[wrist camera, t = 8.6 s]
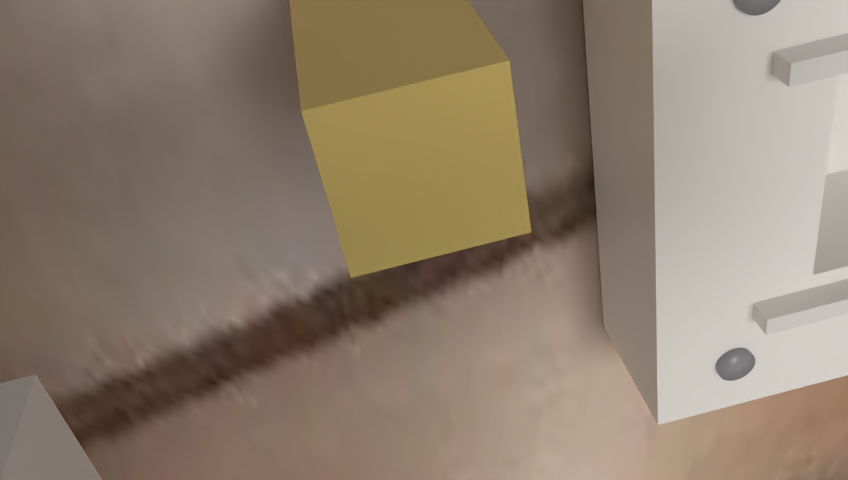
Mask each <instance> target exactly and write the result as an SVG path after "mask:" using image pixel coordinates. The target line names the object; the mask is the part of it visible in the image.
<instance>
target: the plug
mask: <svg viewBox="0 0 848 480" xmlns="http://www.w3.org/2000/svg"><path fill="white" fill-rule="evenodd" d="M289 5H290V14H291V23H292V32H293V42H294V51H295V60H296V69H297V78H298V87H299V96H300V105H301V112H302V116H303V119H304V122H305V126H306V129H307V133H308V136H309V139H310V143H311V146H312V149H313V153H314V156H315V159H316V163H317V166H318V169H319V173H320V176H321V179H322V183H323V186H324V189H325V193H326V196H327V200H328V203H329V206H330V210H331V213H332V216H333V220H334V223H335V226H336V230H337V233H338V236H339V240H340V243H341V246H342V250H343V253H344V256H345V260H346V263H347V266H348V270H349V273H350V277H351V278H352V277H356V276H360V275H364V274H368V273H372V272H376V271H380V270H384V269H388V268H392V267H396V266H400V265H404V264H408V263H412V262H416V261H420V260H423V259H427V258H431V257H435V256H439V255H443V254H447V253H451V252H455V251H459V250H463V249H467V248H471V247H475V246H479V245H483V244H487V243H491V242H495V241H499V240H503V239H507V238H511V237H515V236H519V235H523V234H527V233H530V232H531V225H530V218H529V210H528V202H527V194H526V186H525V178H524V170H523V162H522V155H521V147H520V139H519V131H518V123H517V115H516V107H515V99H514V92H513V84H512V76H511V68H510V60H509V59H508V57H507V56H506V55H505V53H504V52H503V50H502V49H501V47H500V46H499V45H498V43H497V42H496V40H495V39H494V37H493V36H492V34H491V33H490V32H489V30H488V29H487V27H486V26H485V24H484V23H483V22H482V20H481V19H480V17H479V16H478V14H477V13H476V11H475V10H474V9H473V7H472V6H471V4H470V3H469V1H468V0H289Z"/></svg>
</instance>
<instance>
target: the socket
mask: <svg viewBox="0 0 848 480" xmlns="http://www.w3.org/2000/svg"><path fill="white" fill-rule="evenodd" d="M583 14H584V29H585V45H586V60H587V76H588V91H589V107H590V122H591V138H592V153H593V169H594V184H595V199H596V215H597V230H598V246H599V261H600V277H601V292H602V308H603V323H604V328H605V330H606V332H607V334H608V336H609V337H610V339H611V341H612V343H613V345H614V346H615V348H616V350H617V352H618V354H619V355H620V357H621V359H622V361H623V363H624V364H625V366H626V368H627V370H628V372H629V374H630V375H631V377H632V379H633V381H634V383H635V384H636V386H637V388H638V390H639V392H640V393H641V395H642V397H643V399H644V401H645V402H646V404H647V406H648V408H649V410H650V412H651V413H652V415H653V417H654V419H655V421H656V422H657V424H658V425H660V424H663V423H667V422H671V421H675V420H679V419H683V418H686V417H690V416H694V415H698V414H702V413H705V412H709V411H713V410H717V409H721V408H724V407H728V406H732V405H736V404H740V403H743V402H747V401H751V400H755V399H759V398H763V397H766V396H770V395H774V394H778V393H782V392H785V391H789V390H793V389H797V388H801V387H804V386H808V385H812V384H816V383H820V382H823V381H827V380H831V379H835V378H839V377H843V376H846V375H848V0H583Z"/></svg>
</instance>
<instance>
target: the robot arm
mask: <svg viewBox="0 0 848 480" xmlns="http://www.w3.org/2000/svg"><path fill="white" fill-rule="evenodd" d="M0 480H102V479H101V477H100V476H99V474H98V473H97V471H96V470H95V468H94V466H93V465H92V463H91V462H90V460H89V458H88V457H87V455H86V454H85V452H84V450H83V449H82V447H81V446H80V444H79V443H78V441H77V439H76V438H75V436H74V435H73V433H72V431H71V430H70V428H69V427H68V425H67V423H66V422H65V420H64V419H63V417H62V415H61V414H60V412H59V411H58V409H57V408H56V406H55V404H54V403H53V401H52V400H51V398H50V396H49V395H48V393H47V392H46V390H45V388H44V387H43V385H42V384H41V382H40V381H39V379H38V377H37V376H36V374H35V375H31V376H28V377H24V378H20V379H16V380H12V381H8V382H4V383H0Z"/></svg>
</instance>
